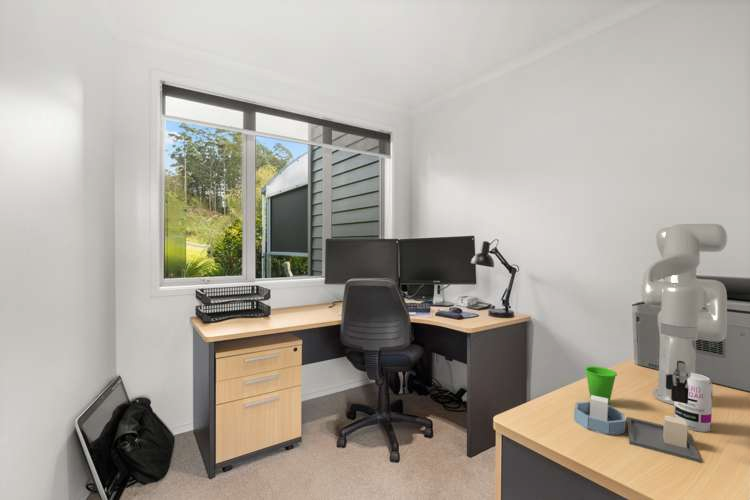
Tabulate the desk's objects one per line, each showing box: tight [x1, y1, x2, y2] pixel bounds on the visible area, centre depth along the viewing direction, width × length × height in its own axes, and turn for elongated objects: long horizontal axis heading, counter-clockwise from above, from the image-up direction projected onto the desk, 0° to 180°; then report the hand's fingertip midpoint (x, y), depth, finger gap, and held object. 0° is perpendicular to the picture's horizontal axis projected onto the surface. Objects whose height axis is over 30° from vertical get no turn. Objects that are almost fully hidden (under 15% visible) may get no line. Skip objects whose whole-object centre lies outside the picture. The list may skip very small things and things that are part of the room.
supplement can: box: [673, 372, 713, 433], centre depth 104 cm, size 8×8×15 cm
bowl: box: [573, 400, 626, 436], centre depth 104 cm, size 12×12×4 cm
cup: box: [584, 365, 618, 406], centre depth 119 cm, size 9×9×11 cm
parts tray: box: [626, 416, 701, 463], centre depth 97 cm, size 16×14×1 cm
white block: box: [589, 395, 609, 421], centre depth 107 cm, size 4×4×6 cm
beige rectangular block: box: [662, 415, 688, 448], centre depth 95 cm, size 4×4×6 cm
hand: (676, 395), depth 94 cm, fingers open, 9 cm apart
